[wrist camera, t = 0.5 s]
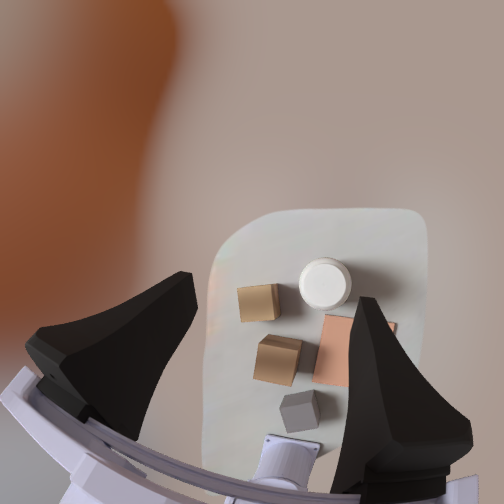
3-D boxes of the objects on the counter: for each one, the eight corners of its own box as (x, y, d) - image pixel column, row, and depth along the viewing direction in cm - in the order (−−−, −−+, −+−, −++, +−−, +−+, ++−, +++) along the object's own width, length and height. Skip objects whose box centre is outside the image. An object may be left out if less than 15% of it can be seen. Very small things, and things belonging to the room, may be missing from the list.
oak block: (280, 314, 35) (274, 319, 31) (250, 317, 36) (241, 322, 32) (277, 283, 35) (270, 284, 31) (247, 286, 36) (237, 288, 32)
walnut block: (296, 372, 33) (291, 386, 29) (263, 365, 35) (253, 378, 30) (302, 340, 33) (298, 350, 29) (268, 334, 35) (258, 343, 30)
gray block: (320, 413, 32) (318, 427, 28) (291, 418, 33) (287, 433, 29) (313, 389, 32) (311, 402, 29) (284, 395, 33) (279, 408, 30)
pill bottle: (352, 265, 32) (360, 262, 23) (342, 307, 32) (346, 320, 23) (309, 256, 34) (302, 249, 25) (300, 298, 34) (289, 307, 25)
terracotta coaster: (377, 388, 30) (378, 389, 29) (312, 380, 33) (311, 381, 32) (393, 322, 30) (394, 323, 30) (325, 314, 33) (325, 315, 32)
